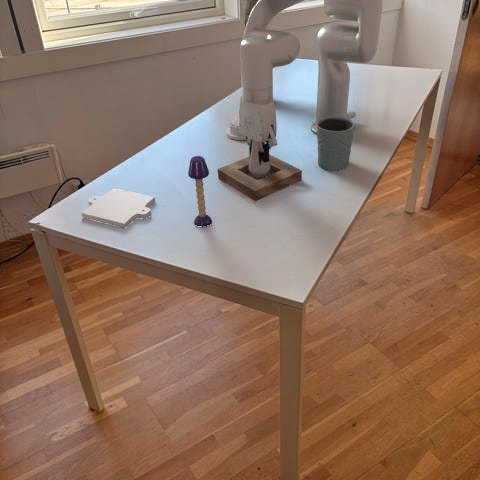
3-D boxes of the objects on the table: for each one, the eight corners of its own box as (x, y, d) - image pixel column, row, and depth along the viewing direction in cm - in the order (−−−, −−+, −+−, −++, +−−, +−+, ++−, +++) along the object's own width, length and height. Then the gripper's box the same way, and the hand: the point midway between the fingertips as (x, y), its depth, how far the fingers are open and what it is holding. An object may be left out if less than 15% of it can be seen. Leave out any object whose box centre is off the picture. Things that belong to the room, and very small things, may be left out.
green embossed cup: (328, 175, 130) (331, 134, 122) (307, 161, 137) (309, 121, 130) (358, 166, 133) (363, 125, 126) (336, 153, 140) (339, 113, 133)
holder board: (263, 160, 139) (262, 151, 137) (301, 180, 128) (301, 170, 126) (218, 178, 131) (217, 169, 129) (255, 201, 121) (255, 191, 119)
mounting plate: (164, 205, 122) (162, 198, 121) (134, 232, 113) (132, 225, 112) (107, 192, 129) (106, 186, 128) (75, 217, 119) (73, 210, 118)
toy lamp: (194, 217, 116) (186, 154, 106) (213, 215, 116) (207, 152, 106) (194, 228, 112) (186, 164, 102) (214, 226, 112) (208, 162, 103)
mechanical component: (223, 140, 152) (254, 141, 150) (222, 127, 149) (253, 128, 148) (229, 128, 160) (259, 129, 158) (229, 115, 157) (258, 116, 155)
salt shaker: (273, 171, 130) (272, 126, 123) (267, 181, 126) (266, 135, 118) (252, 169, 132) (250, 124, 124) (246, 179, 128) (243, 133, 120)
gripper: (225, 88, 119) (229, 155, 130) (267, 105, 109) (268, 177, 119) (248, 81, 123) (251, 147, 134) (291, 97, 112) (291, 167, 123)
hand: (259, 160), depth 126 cm, fingers closed on salt shaker, 3 cm apart
